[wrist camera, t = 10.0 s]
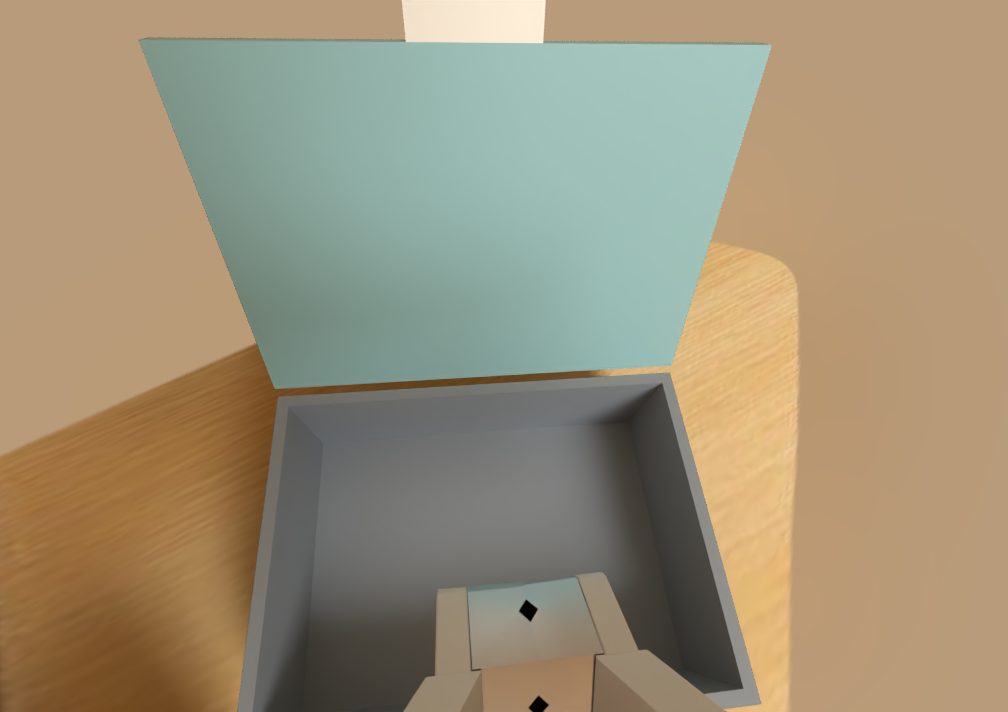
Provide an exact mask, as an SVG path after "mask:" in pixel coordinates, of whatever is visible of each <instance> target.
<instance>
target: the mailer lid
mask: <svg viewBox="0 0 1008 712" xmlns="http://www.w3.org/2000/svg"><path fill="white" fill-rule="evenodd" d="M402 6H403V17H404V26H405V38H406V40H381V39H377V40H375V39H373V40H372V39H262V38H260V39H258V38H257V39H256V38H145V39H141V40H139V42H140V45H141V48H142V50H143V53H144V55H145V58H146V60H147V63H148V65H149V68H150V70H151V73H152V76H153V78H154V81H155V83H156V86H157V89H158V91H159V94H160V96H161V99H162V101H163V104H164V106H165V109H166V111H167V114H168V117H169V119H170V122H171V124H172V127H173V129H174V132H175V134H176V137H177V140H178V142H179V145H180V148H181V150H182V153H183V155H184V158H185V160H186V163H187V165H188V168H189V171H190V173H191V176H192V178H193V181H194V183H195V186H196V188H197V191H198V194H199V196H200V199H201V201H202V204H203V206H204V209H205V211H206V214H207V217H208V219H209V222H210V224H211V227H212V230H213V232H214V234H215V237H216V240H217V242H218V245H219V248H220V250H221V253H222V255H223V258H224V260H225V263H226V265H227V268H228V271H229V273H230V276H231V278H232V281H233V283H234V286H235V289H236V291H237V294H238V296H239V299H240V301H241V304H242V306H243V309H244V312H245V314H246V317H247V319H248V322H249V324H250V327H251V329H252V332H253V335H254V337H255V340H256V342H257V345H258V348H259V350H260V353H261V355H262V358H263V360H264V363H265V365H266V368H267V371H268V373H269V376H270V378H271V381H272V383H273V386H274V389H285V388H302V387H319V386H336V385H352V384H369V383H386V382H402V381H419V380H436V379H453V378H469V377H486V376H503V375H520V374H536V373H553V372H570V371H586V370H603V369H620V368H637V367H653V366H670V365H672V362H673V359H674V356H675V353H676V349H677V346H678V343H679V340H680V337H681V333H682V330H683V327H684V324H685V321H686V317H687V314H688V311H689V308H690V305H691V301H692V298H693V295H694V292H695V289H696V286H697V282H698V279H699V276H700V273H701V270H702V266H703V263H704V260H705V257H706V254H707V250H708V247H709V244H710V241H711V237H712V234H713V231H714V228H715V225H716V222H717V218H718V215H719V212H720V209H721V205H722V202H723V199H724V196H725V192H726V190H727V186H728V183H729V180H730V177H731V174H732V170H733V167H734V164H735V161H736V158H737V154H738V151H739V148H740V145H741V142H742V139H743V135H744V132H745V129H746V126H747V122H748V119H749V116H750V113H751V110H752V107H753V103H754V100H755V97H756V94H757V91H758V87H759V84H760V81H761V78H762V75H763V71H764V68H765V65H766V62H767V59H768V55H769V52H770V49H771V45H769V44H765V43H733V42H730V43H729V42H723V43H722V42H616V41H615V42H614V41H611V42H610V41H543V35H544V17H545V0H402Z"/></svg>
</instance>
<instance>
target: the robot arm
mask: <svg viewBox="0 0 1008 712" xmlns="http://www.w3.org/2000/svg"><path fill="white" fill-rule="evenodd" d="M467 599H468V604H467ZM468 618H469V620H468ZM403 712H726V711H725V710H724V709H722V708H721V707H720V706H718V705H717V704H716V703H715V702H713V701H712V700H711V699H710V698H708V697H707V696H706V695H704V694H703V693H702V692H701V691H699V690H698V689H697V688H696V687H694V686H693V685H692V684H690V683H689V682H688V681H687V680H685V679H684V678H683V677H682V676H680V675H679V674H678V673H676V672H675V671H674V670H673V669H671V668H670V667H669V666H668V665H666V664H665V663H664V662H662V661H661V660H660V659H659V658H657V657H656V656H655V655H654V654H652V653H651V652H650V651H648V650H638V648H637V646H636V643H635V641H634V639H633V637H632V634H631V632H630V630H629V627H628V625H627V623H626V621H625V618H624V616H623V614H622V611H621V609H620V607H619V605H618V602H617V600H616V598H615V596H614V593H613V591H612V589H611V586H610V584H609V582H608V580H607V577H606V575H605V574H603V573H602V572H596V573H588V574H580V575H575V576H564V577H556V578H547V579H538V580H530V581H521V582H513V583H501V584H488V585H476V586H467V590H466V587H461V588H447V589H438V592H437V600H436V650H435V676H431V677H426V678H425V679H424V681H423V682H422V684H421V685H420V687H419V688H418V690H417V691H416V693H415V694H414V696H413V697H412V699H411V701H410V702H409V704H408V705H407V707H406V708H405V710H404V711H403Z"/></svg>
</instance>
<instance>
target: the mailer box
mask: <svg viewBox="0 0 1008 712" xmlns="http://www.w3.org/2000/svg"><path fill="white" fill-rule="evenodd" d="M596 572H602V573H603V574H605V575H606V577H607V580H608V582H609V584H610V586H611V589H612V591H613V593H614V596H615V598H616V600H617V602H618V605H619V607H620V609H621V611H622V614H623V616H624V618H625V621H626V623H627V625H628V627H629V630H630V632H631V634H632V637H633V639H634V641H635V643H636V646H637V648H638V650H648V651H650V652H651V653H652V654H654V655H655V656H656V657H657V658H659V659H660V660H661V661H662V662H664V663H665V664H666V665H668V666H669V667H670V668H671V669H673V670H674V671H675V672H676V673H678V674H679V675H680V676H682V677H683V678H684V679H685V680H687V681H688V682H689V683H690V684H692V685H693V686H694V687H696V688H697V689H698V690H699V691H701V692H702V693H703V694H704V695H706V696H707V697H708V698H710V699H711V700H712V701H713V702H715V703H716V704H717V705H718V706H720V707H721V708H722V709H729V708H736V707H743V706H751V705H758V704H761V701H760V697H759V693H758V690H757V686H756V683H755V679H754V675H753V672H752V668H751V665H750V661H749V657H748V654H747V650H746V646H745V643H744V639H743V636H742V632H741V628H740V625H739V621H738V617H737V614H736V610H735V607H734V603H733V599H732V596H731V592H730V589H729V585H728V581H727V578H726V574H725V570H724V567H723V563H722V560H721V556H720V552H719V549H718V545H717V541H716V538H715V534H714V531H713V527H712V523H711V520H710V516H709V513H708V509H707V505H706V502H705V498H704V494H703V491H702V487H701V484H700V480H699V476H698V473H697V469H696V465H695V462H694V458H693V455H692V451H691V447H690V444H689V440H688V436H687V433H686V429H685V426H684V422H683V418H682V415H681V411H680V408H679V404H678V400H677V397H676V393H675V389H674V386H673V382H672V379H671V375H670V373H656V374H639V375H623V376H607V377H590V378H574V379H558V380H542V381H525V382H509V383H493V384H476V385H460V386H444V387H427V388H411V389H395V390H378V391H362V392H346V393H330V394H313V395H297V396H281V397H278V401H277V408H276V416H275V424H274V431H273V439H272V447H271V455H270V462H269V470H268V478H267V485H266V493H265V501H264V508H263V516H262V524H261V532H260V539H259V547H258V555H257V562H256V570H255V578H254V585H253V593H252V601H251V609H250V616H249V624H248V632H247V639H246V647H245V655H244V662H243V670H242V678H241V686H240V693H239V701H238V709H237V712H403V711H404V710H405V708H406V707H407V705H408V704H409V702H410V701H411V699H412V697H413V696H414V694H415V693H416V691H417V690H418V688H419V687H420V685H421V684H422V682H423V681H424V679H425V678H426V677H431V676H435V650H436V600H437V592H438V589H447V588H461V587H466V590H467V586H476V585H488V584H501V583H513V582H521V581H530V580H538V579H547V578H556V577H564V576H575V575H580V574H588V573H596ZM467 604H468V599H467ZM468 620H469V618H468Z"/></svg>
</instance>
